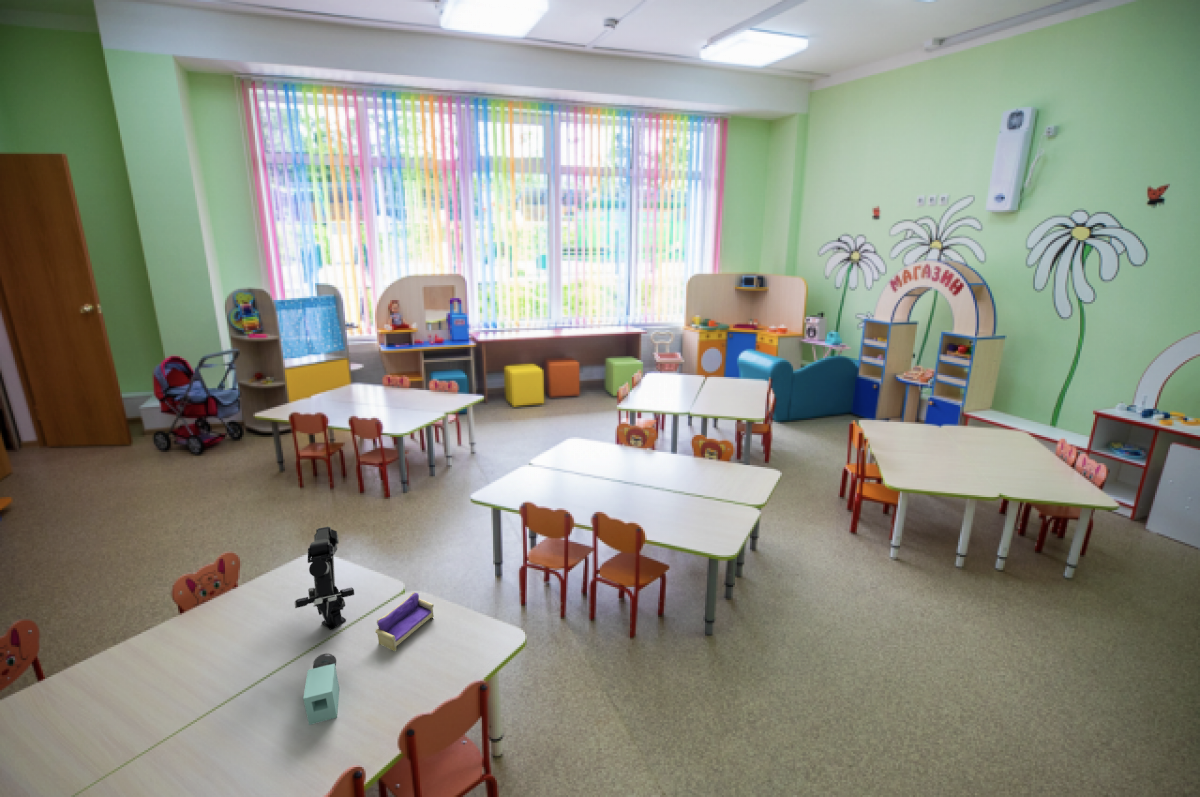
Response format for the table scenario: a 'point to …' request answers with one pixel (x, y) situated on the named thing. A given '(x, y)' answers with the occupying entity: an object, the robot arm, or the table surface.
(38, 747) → the table surface
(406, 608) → the toy sofa
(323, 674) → the block
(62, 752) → the table surface
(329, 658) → the plunger
